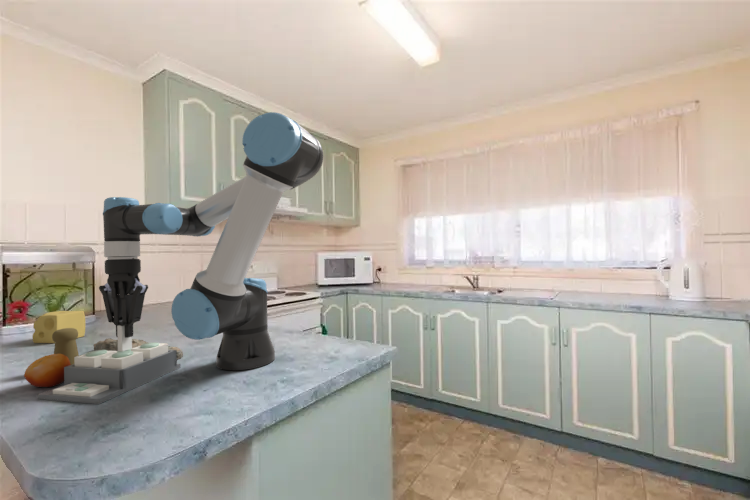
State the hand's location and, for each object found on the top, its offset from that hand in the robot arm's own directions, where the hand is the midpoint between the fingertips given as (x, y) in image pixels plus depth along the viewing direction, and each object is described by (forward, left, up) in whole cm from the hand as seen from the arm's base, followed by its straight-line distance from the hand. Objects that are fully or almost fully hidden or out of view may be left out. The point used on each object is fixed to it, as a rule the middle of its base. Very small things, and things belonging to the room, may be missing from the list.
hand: (125, 349), depth 90 cm
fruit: (+11, +10, -6) cm, 16 cm away
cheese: (+57, -26, -6) cm, 63 cm away
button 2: (-8, +7, -2) cm, 11 cm away
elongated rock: (+11, -14, -6) cm, 19 cm away
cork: (+18, +1, -6) cm, 19 cm away
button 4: (-8, 0, -2) cm, 8 cm away
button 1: (0, +7, -2) cm, 8 cm away
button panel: (-4, +6, -6) cm, 9 cm away
